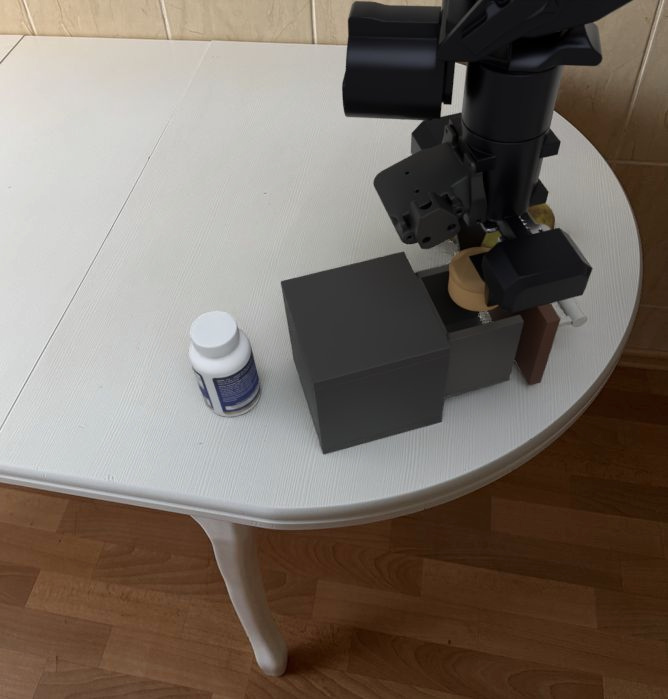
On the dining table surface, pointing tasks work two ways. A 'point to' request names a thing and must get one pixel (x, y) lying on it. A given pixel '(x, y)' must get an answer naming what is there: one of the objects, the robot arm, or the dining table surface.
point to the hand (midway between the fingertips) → (479, 281)
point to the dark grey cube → (366, 351)
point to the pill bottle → (223, 364)
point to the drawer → (494, 336)
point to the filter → (467, 281)
